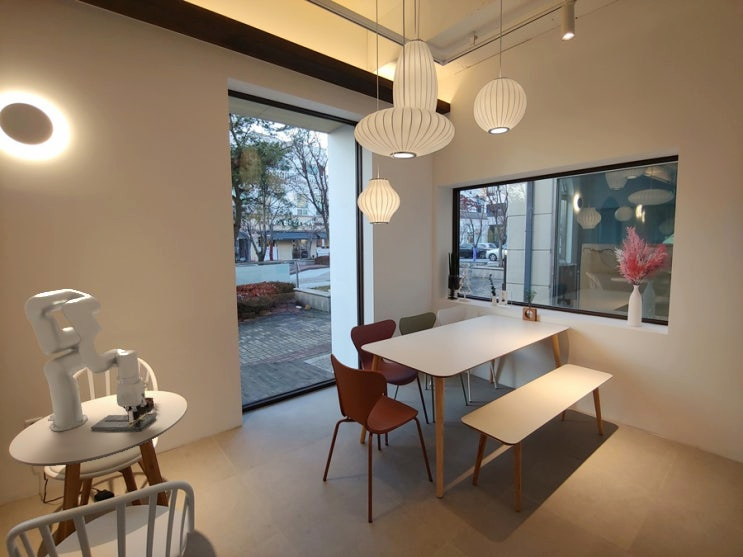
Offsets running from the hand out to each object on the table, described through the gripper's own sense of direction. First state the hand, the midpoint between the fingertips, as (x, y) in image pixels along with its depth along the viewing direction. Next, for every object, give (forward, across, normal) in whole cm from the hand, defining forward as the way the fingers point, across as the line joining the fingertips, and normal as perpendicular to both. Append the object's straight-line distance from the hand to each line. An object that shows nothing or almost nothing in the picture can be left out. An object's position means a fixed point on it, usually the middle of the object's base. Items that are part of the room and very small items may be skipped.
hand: (134, 418), depth 156 cm
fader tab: (+1, 0, 0) cm, 1 cm away
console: (+3, -5, 0) cm, 6 cm away
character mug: (+3, -12, +18) cm, 22 cm away
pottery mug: (+3, -3, +11) cm, 12 cm away
